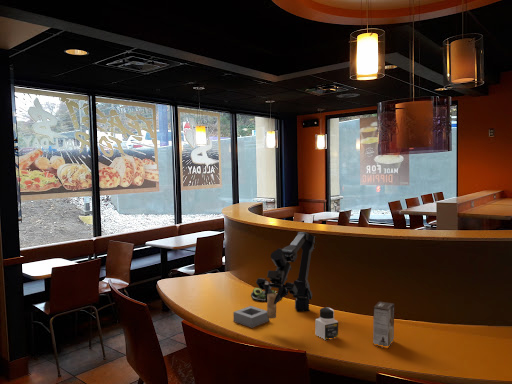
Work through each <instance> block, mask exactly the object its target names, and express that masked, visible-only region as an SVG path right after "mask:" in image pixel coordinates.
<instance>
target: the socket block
mask: <svg viewBox="0 0 512 384" xmlns="http://www.w3.org/2000/svg"><path fill="white" fill-rule="evenodd" d="M269 321H270V318H268V317H267V309H266V310H265V309H261V308H259V307H256V306H253V305H249V306H246V307H244V308H241V309H238V310H236V311H233V322H234V323H237V324H241V325H243V326H246V327H249V328H251V329H252V328H255V327H258V326H259V325H260V326H261V325H262V324H265V323H267V322H269Z"/></svg>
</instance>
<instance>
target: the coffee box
mask: <svg viewBox="0 0 512 384" xmlns="http://www.w3.org/2000/svg"><path fill="white" fill-rule="evenodd" d="M372 321H373V324H372V325H373V326H372V328H373V329H372V330H373V331H372V332H373V333H372V336H373V337H372V340H373V343H374V344H378V345H383V346H389V345H390V344H391V342H392V341H393V339H394V340H395V338H394V337H395V335H394V334H395V303H392V302H386V301H385V302H384V301H378V302H377V303H376V304H375V305H374V306H373V320H372ZM393 342H394V341H393ZM373 343H372V344H373ZM391 345H392V344H391Z"/></svg>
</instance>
